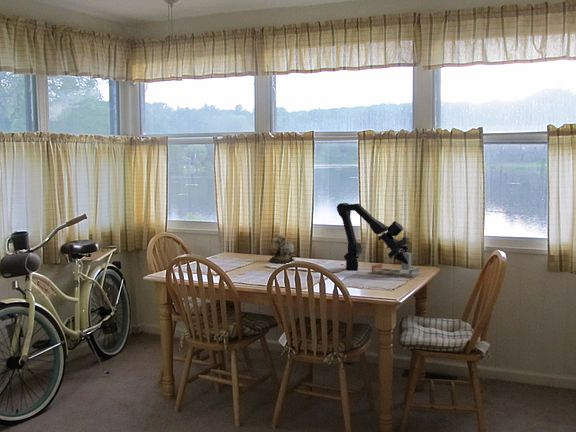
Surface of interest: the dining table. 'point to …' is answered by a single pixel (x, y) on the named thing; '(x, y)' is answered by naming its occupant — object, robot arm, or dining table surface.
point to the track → (394, 271)
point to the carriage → (406, 266)
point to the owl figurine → (281, 250)
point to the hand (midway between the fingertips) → (408, 263)
